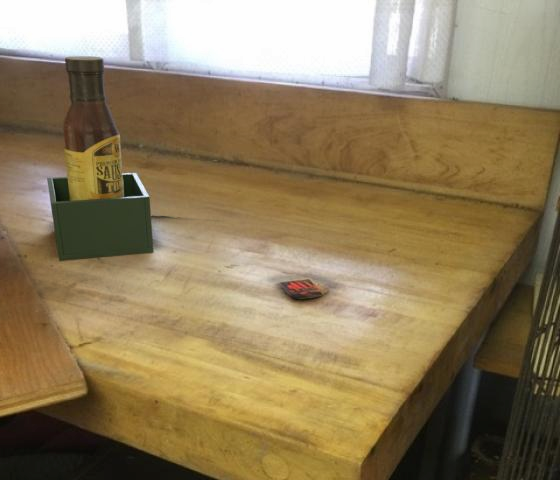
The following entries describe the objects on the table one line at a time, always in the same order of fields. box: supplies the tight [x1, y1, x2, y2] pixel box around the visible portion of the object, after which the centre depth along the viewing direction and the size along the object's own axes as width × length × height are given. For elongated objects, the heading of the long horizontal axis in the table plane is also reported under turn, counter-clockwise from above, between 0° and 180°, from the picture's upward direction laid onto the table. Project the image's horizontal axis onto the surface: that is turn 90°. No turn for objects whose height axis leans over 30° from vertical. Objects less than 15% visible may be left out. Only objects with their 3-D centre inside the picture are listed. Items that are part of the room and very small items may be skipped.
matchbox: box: [275, 277, 329, 301], centre depth 73 cm, size 5×5×1 cm
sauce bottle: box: [62, 55, 124, 201], centre depth 79 cm, size 6×6×20 cm
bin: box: [46, 172, 154, 261], centre depth 83 cm, size 11×11×7 cm
